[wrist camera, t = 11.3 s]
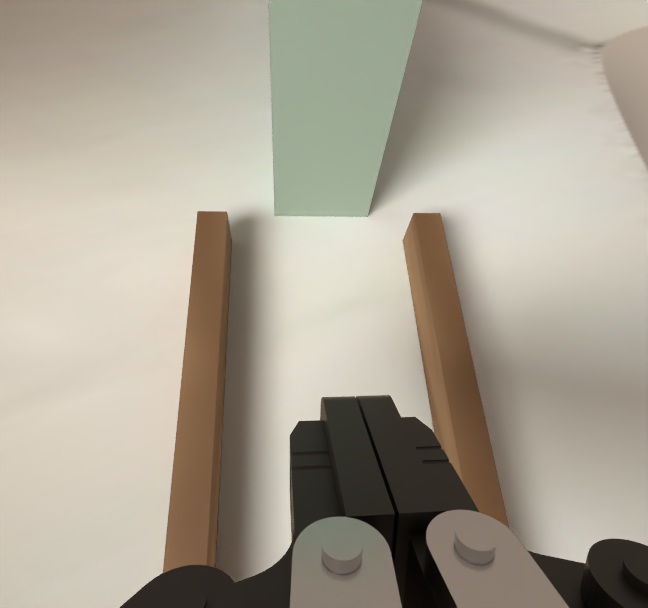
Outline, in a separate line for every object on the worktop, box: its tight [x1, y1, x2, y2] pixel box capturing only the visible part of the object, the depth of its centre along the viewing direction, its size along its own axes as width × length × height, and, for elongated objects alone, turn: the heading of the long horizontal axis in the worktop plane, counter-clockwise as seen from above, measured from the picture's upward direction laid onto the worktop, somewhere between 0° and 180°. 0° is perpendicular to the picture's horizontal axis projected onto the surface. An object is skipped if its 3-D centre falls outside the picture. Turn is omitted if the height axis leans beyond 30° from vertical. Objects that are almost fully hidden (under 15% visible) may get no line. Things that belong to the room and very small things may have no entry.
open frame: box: [163, 211, 509, 573], centre depth 15 cm, size 10×22×2 cm, turn 3°
